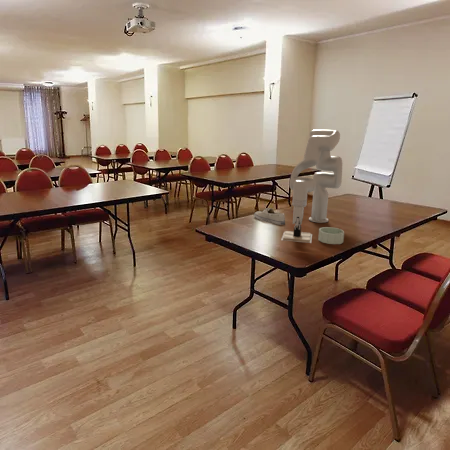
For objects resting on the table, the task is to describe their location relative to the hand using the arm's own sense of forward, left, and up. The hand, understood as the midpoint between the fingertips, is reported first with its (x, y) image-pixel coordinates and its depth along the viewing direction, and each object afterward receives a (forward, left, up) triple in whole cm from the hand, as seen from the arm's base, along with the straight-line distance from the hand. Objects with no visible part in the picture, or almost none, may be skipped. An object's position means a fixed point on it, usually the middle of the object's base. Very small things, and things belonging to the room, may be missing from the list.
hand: (297, 234), depth 205 cm
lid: (0, 0, -2) cm, 2 cm away
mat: (0, 0, -2) cm, 2 cm away
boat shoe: (-33, -20, -3) cm, 39 cm away
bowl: (0, +18, -2) cm, 18 cm away
